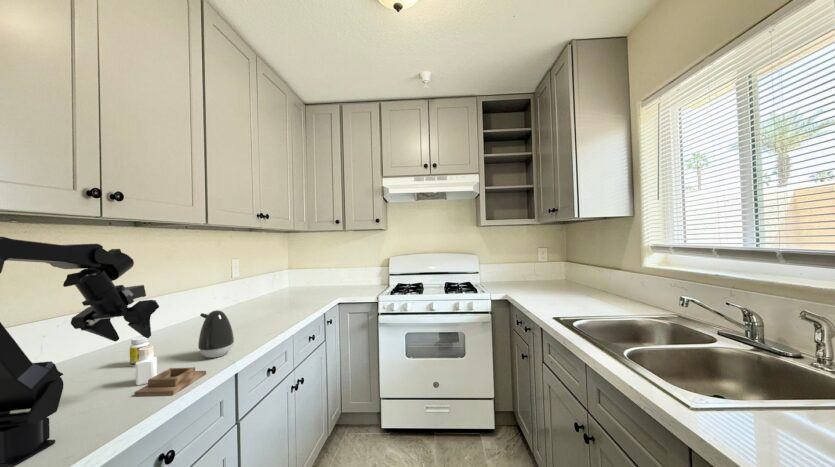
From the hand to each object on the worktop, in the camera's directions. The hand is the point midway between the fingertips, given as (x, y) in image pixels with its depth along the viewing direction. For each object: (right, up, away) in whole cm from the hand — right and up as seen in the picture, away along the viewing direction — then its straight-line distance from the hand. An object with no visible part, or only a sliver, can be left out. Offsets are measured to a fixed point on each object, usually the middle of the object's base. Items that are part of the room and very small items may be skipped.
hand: (133, 338), depth 83 cm
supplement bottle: (-14, -14, +17) cm, 26 cm away
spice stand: (+9, -13, +2) cm, 16 cm away
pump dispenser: (+7, -14, +23) cm, 28 cm away
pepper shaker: (0, -14, +4) cm, 14 cm away
